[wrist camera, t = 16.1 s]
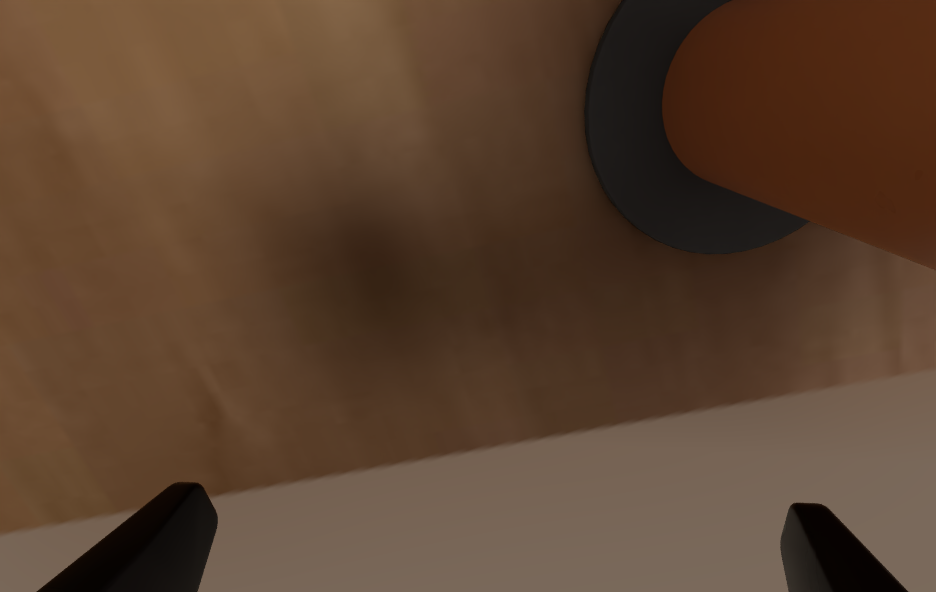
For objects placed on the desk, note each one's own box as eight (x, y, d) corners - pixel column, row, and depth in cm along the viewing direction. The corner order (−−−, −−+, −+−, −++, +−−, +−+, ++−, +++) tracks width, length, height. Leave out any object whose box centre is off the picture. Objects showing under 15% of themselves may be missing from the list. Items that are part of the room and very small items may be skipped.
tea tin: (754, 218, 19) (1172, 404, 9) (624, 123, 18) (944, 211, 7) (874, 67, 18) (1528, 75, 7) (745, -50, 16) (1336, -236, 6)
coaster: (891, 197, 20) (901, 200, 19) (621, 288, 20) (625, 292, 19) (874, -124, 16) (885, -128, 16) (548, -12, 16) (552, -14, 16)
